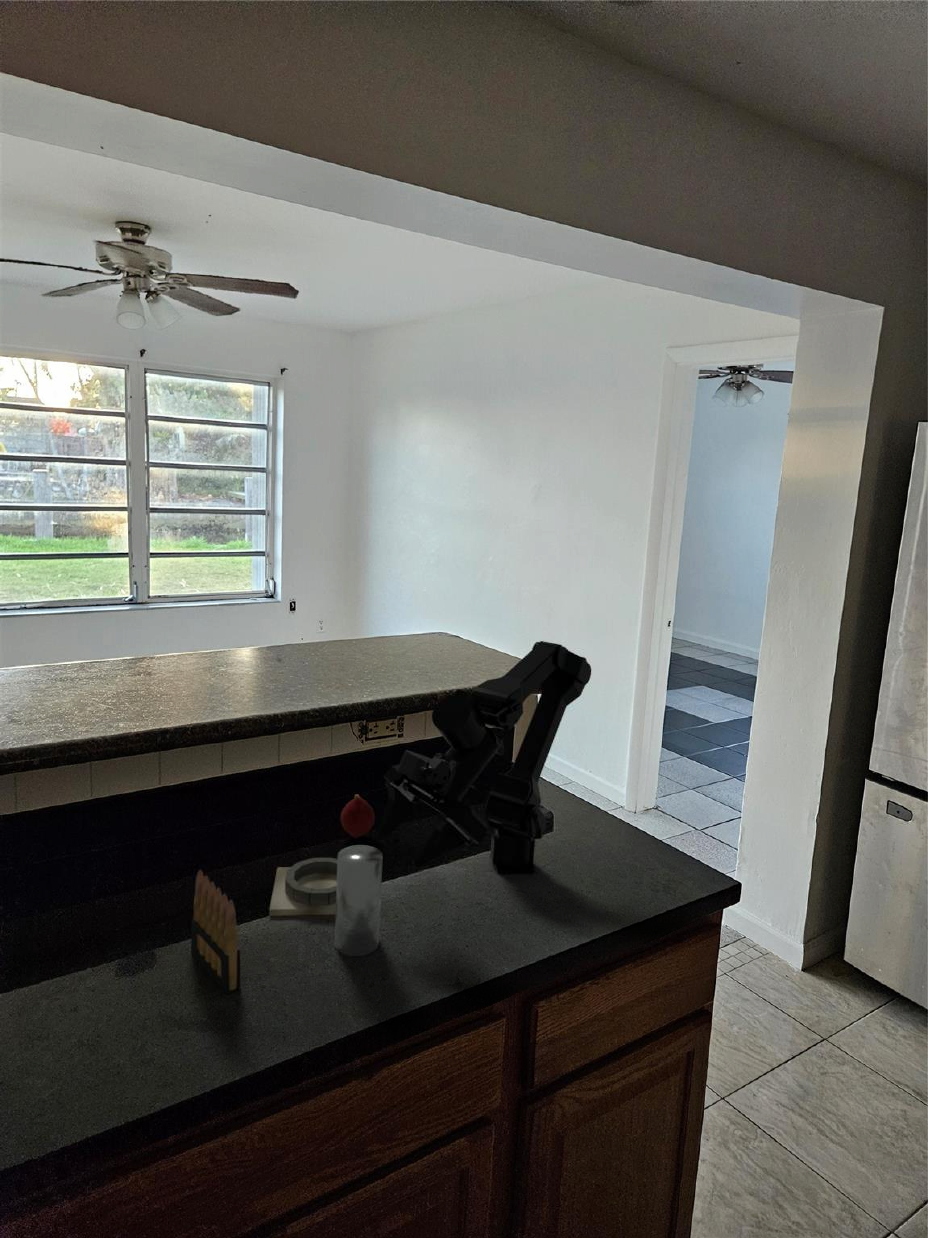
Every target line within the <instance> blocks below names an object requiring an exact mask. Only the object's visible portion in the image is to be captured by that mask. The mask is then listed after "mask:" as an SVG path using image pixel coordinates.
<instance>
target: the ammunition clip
mask: <svg viewBox="0 0 928 1238" xmlns="http://www.w3.org/2000/svg"><path fill="white" fill-rule="evenodd" d="M236 916H237V915H236V908H235V904H234V902H233V899H228V896H227V894H226V893H223V894H222V891H221V888H220V887H217V888H216V885H215V883H214V881H211V882H210V879H209V877H208V876H207V875H205V876H204V872H203V871H202V869H199V870H198V872H197V874H196V878H195V891H194V900H193V917H192V918H191V926H190V927H191V933H190V934H191V936H190V937H191V940H190V941H191V942H190V944H191V945H190V953H191V955H192V956H193V957H194V958H195V960H197V961H198V963H199V964H200V965H201V966H202V967H203V969H204V970H205V971H206V973H207V974H208V975H209V976H210V977H211V978H212V979H213V981H214V982H215V983H216V984H217V985H218V986H219V988H220V989H221V990H222V991H223V992H224V994H226V995H228V994H230V993H233V992H235V991H238V990H240V989H241V950H239V949H238V946H239V944H238V942H239V941H238V938H239V937H238V936H239V934H238V928H237V927H238V926H237V917H236Z"/></svg>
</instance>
